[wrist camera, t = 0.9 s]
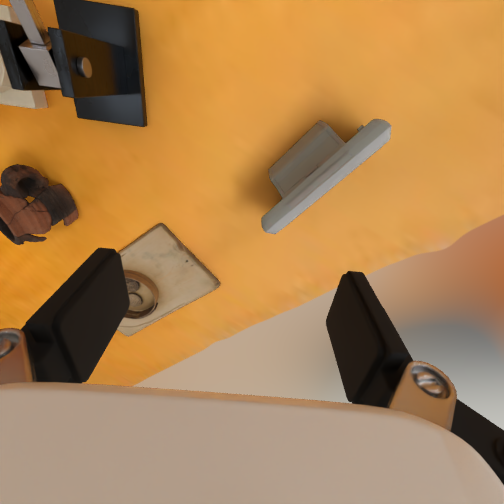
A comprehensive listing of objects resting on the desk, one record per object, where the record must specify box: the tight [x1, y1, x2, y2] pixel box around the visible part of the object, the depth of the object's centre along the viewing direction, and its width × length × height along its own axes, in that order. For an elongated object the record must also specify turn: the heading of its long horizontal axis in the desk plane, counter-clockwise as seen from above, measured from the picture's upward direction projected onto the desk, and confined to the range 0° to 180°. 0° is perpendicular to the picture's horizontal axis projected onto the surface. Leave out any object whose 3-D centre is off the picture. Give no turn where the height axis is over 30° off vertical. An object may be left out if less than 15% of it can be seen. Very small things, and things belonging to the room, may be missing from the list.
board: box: [117, 223, 220, 336], centre depth 46 cm, size 25×15×3 cm, turn 125°
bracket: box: [0, 0, 147, 127], centre depth 25 cm, size 11×8×12 cm
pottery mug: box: [0, 164, 78, 245], centre depth 36 cm, size 12×10×8 cm
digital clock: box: [261, 119, 391, 234], centre depth 31 cm, size 16×9×11 cm, turn 123°
